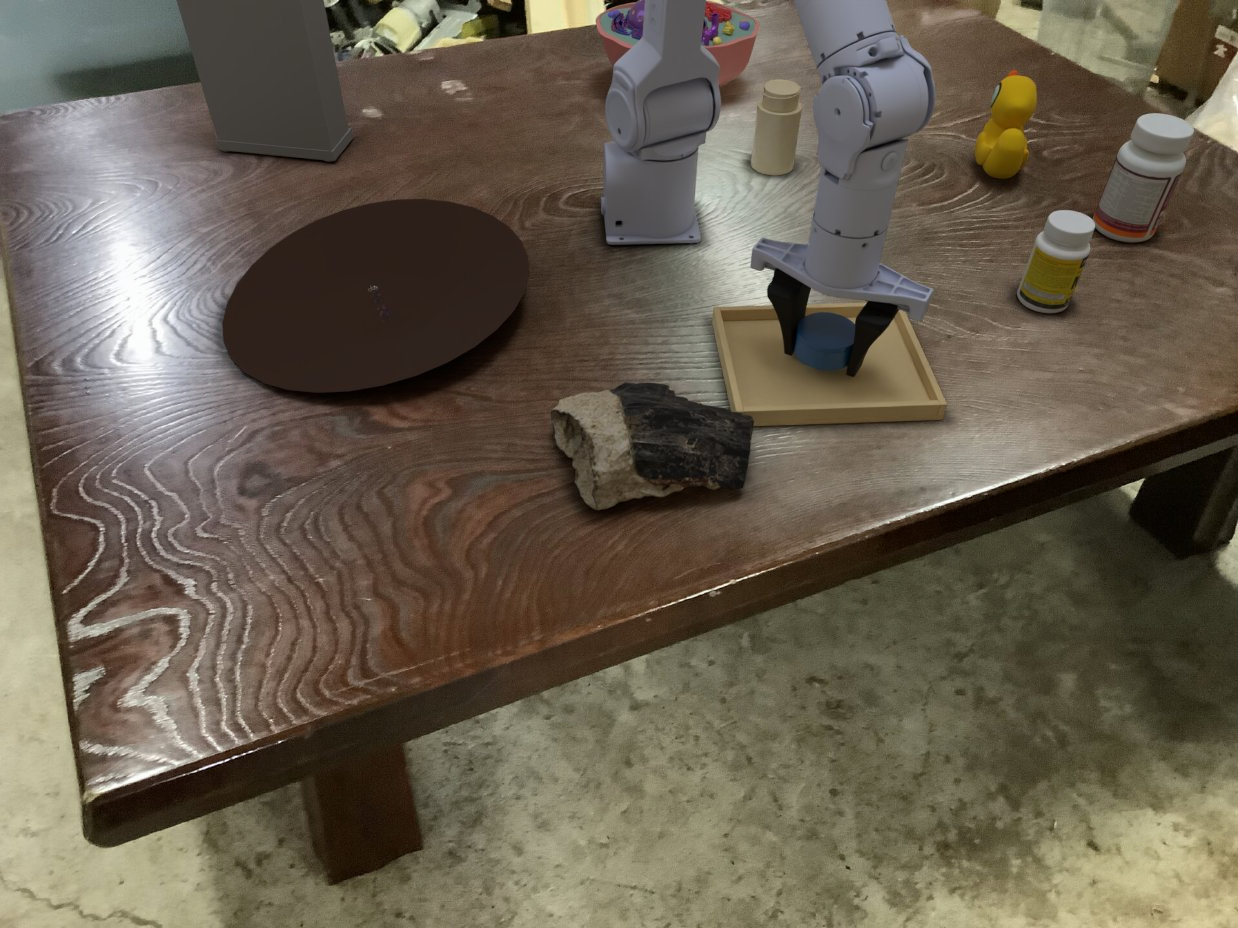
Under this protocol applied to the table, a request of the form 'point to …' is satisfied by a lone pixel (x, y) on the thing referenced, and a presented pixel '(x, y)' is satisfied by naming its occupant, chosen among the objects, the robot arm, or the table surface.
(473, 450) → the table surface
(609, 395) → the mineral specimen
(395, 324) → the dark brown round disc
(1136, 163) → the pill bottle
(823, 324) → the lid
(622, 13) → the cell model
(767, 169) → the jar
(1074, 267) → the supplement bottle
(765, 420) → the tray
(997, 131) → the duckling
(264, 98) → the grey upright box
